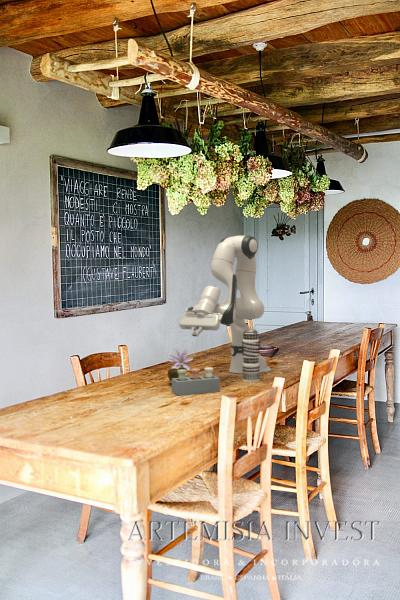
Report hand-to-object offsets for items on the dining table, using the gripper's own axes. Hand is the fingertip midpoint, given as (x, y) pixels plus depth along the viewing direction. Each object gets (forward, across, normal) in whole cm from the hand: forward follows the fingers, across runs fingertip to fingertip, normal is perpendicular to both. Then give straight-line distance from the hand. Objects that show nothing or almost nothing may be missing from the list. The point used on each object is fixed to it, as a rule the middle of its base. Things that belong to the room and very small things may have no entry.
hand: (194, 335), depth 288 cm
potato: (+15, +12, -20) cm, 28 cm away
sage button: (+24, 0, -6) cm, 25 cm away
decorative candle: (-1, -18, -35) cm, 40 cm away
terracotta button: (+21, -4, -9) cm, 23 cm away
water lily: (-10, +30, -45) cm, 54 cm away
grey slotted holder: (+23, -4, -11) cm, 26 cm away
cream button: (+17, -9, -12) cm, 23 cm away
